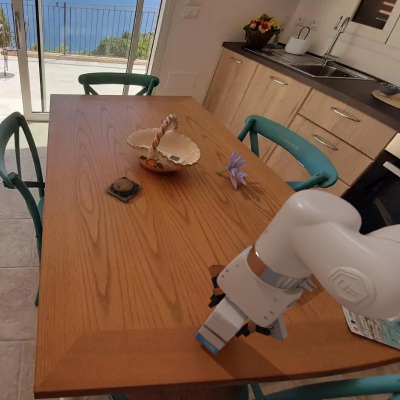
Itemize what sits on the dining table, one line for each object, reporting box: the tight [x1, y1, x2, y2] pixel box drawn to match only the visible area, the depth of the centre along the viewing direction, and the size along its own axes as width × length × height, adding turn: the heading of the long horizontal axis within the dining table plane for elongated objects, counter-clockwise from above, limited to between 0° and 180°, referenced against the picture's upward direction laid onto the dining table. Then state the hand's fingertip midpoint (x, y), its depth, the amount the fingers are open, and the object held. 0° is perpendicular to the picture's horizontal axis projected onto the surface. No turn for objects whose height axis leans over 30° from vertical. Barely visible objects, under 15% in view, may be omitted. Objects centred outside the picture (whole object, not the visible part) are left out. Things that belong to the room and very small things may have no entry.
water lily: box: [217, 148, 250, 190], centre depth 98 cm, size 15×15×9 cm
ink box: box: [194, 295, 249, 356], centre depth 53 cm, size 9×5×12 cm, turn 130°
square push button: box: [107, 176, 141, 202], centre depth 90 cm, size 11×8×4 cm
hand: (227, 317), depth 52 cm, fingers closed on ink box, 5 cm apart
